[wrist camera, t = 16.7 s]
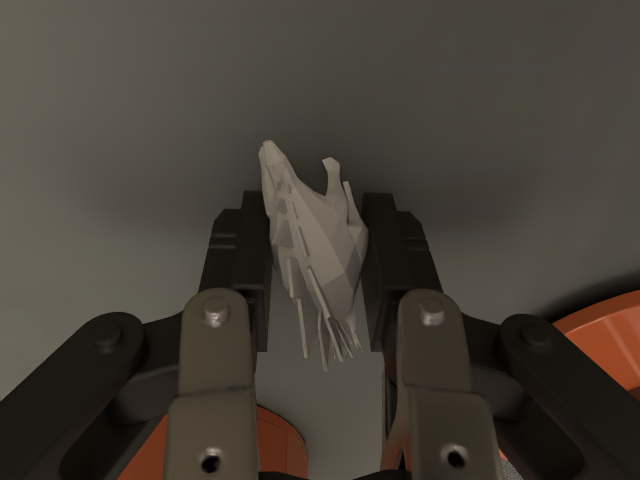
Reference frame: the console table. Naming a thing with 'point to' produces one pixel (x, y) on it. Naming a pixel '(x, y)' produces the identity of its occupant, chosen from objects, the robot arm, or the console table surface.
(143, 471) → the pot
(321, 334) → the stegosaurus
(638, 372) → the lid
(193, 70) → the console table surface
